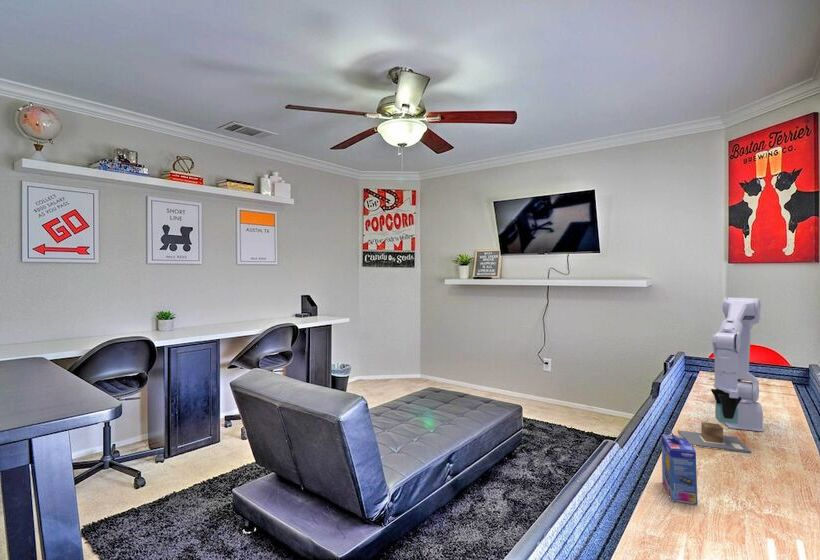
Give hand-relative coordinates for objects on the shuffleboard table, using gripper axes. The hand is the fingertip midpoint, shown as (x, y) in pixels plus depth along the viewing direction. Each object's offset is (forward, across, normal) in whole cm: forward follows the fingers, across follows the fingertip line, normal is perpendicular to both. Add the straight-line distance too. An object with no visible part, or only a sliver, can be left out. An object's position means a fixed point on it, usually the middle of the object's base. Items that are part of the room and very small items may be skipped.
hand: (725, 415), depth 132 cm
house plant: (+8, +48, -13) cm, 50 cm away
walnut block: (+8, 0, +4) cm, 9 cm away
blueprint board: (+8, 0, +4) cm, 9 cm away
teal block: (+2, 0, 0) cm, 2 cm away
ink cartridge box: (+9, -40, +21) cm, 46 cm away
